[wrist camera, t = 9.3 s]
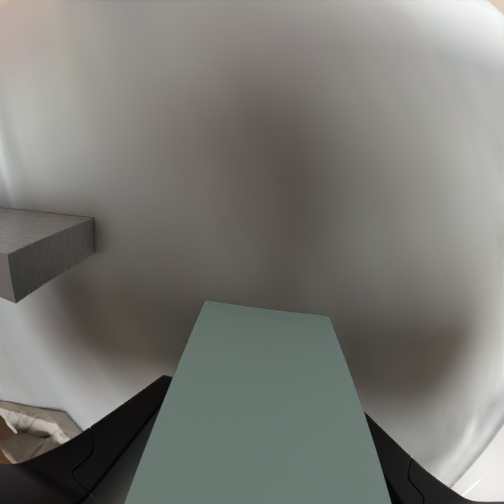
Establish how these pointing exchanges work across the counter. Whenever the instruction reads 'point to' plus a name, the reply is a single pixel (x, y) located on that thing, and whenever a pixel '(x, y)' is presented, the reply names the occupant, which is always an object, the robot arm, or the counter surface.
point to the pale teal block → (260, 417)
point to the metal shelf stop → (39, 248)
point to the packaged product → (34, 430)
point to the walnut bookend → (4, 432)
